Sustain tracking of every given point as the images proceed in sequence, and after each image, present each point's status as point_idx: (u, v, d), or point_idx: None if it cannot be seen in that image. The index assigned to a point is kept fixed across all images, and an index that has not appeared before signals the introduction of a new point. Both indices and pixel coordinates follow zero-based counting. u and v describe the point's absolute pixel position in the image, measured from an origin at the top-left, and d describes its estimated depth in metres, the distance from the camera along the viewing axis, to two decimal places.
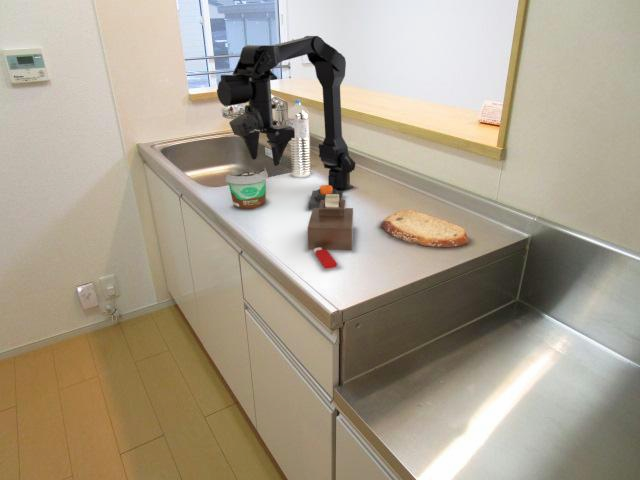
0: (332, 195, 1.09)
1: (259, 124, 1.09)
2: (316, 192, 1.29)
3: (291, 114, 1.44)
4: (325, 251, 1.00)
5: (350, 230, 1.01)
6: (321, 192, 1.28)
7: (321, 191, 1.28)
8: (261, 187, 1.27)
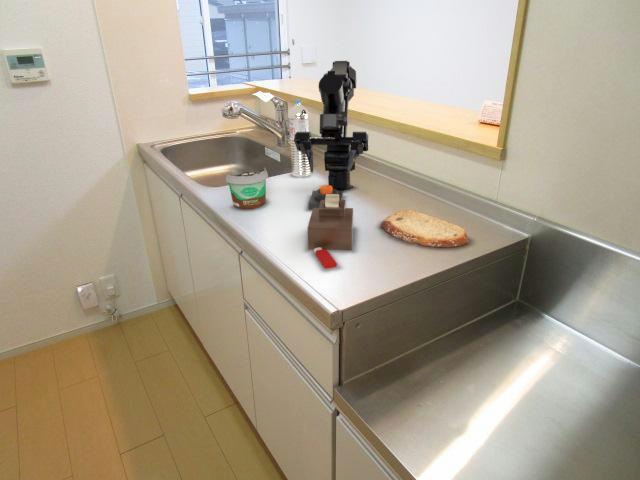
0: (332, 195, 1.09)
1: (342, 128, 1.13)
2: (316, 192, 1.29)
3: (291, 114, 1.44)
4: (325, 251, 1.00)
5: (350, 230, 1.01)
6: (321, 192, 1.28)
7: (321, 191, 1.28)
8: (261, 187, 1.27)
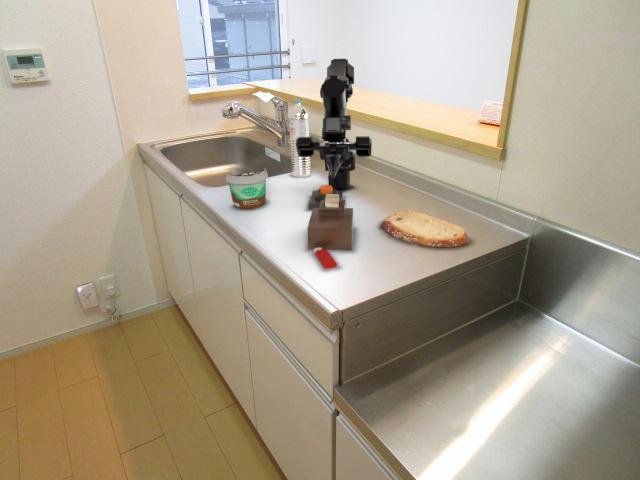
0: (332, 195, 1.09)
1: (345, 132, 1.11)
2: (316, 192, 1.29)
3: (291, 114, 1.44)
4: (325, 251, 1.00)
5: (350, 230, 1.01)
6: (321, 192, 1.28)
7: (321, 191, 1.28)
8: (261, 187, 1.27)
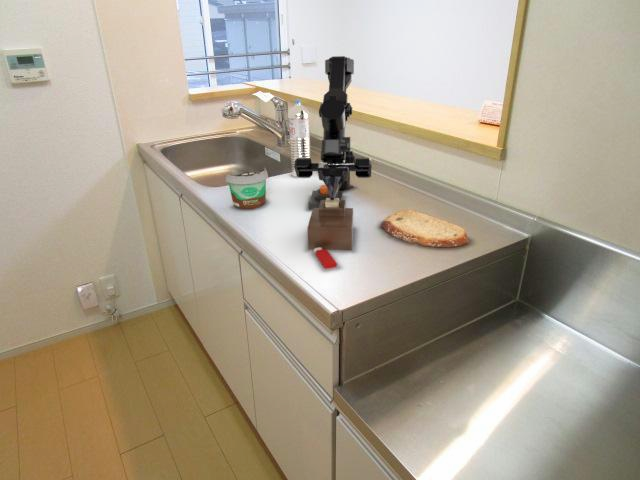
0: None
1: (344, 154, 1.09)
2: (316, 192, 1.29)
3: (291, 114, 1.44)
4: (325, 251, 1.00)
5: (350, 230, 1.01)
6: (321, 192, 1.28)
7: (321, 191, 1.28)
8: (261, 187, 1.27)
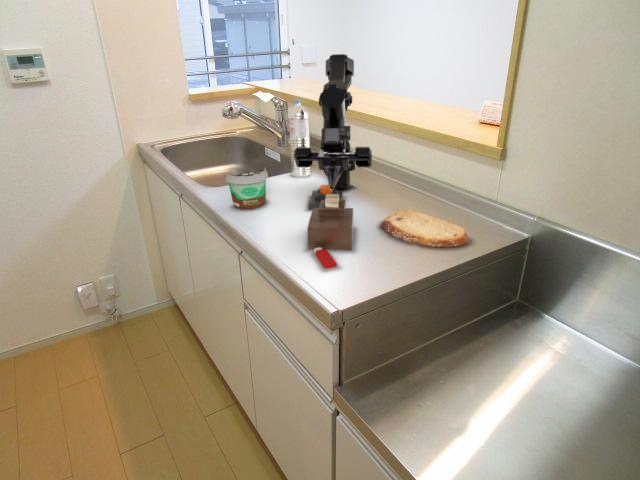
0: (332, 195, 1.09)
1: (344, 143, 1.08)
2: (316, 192, 1.29)
3: (291, 114, 1.44)
4: (325, 251, 1.00)
5: (350, 230, 1.01)
6: (321, 192, 1.28)
7: (321, 191, 1.28)
8: (261, 187, 1.27)
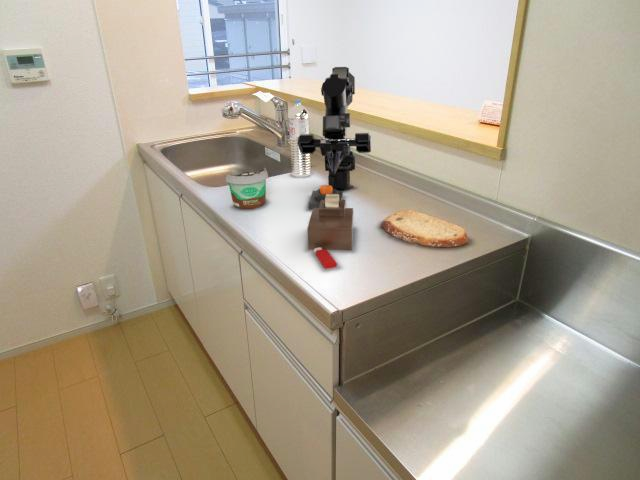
0: (332, 195, 1.09)
1: (345, 130, 1.15)
2: (316, 192, 1.29)
3: (291, 114, 1.44)
4: (325, 251, 1.00)
5: (350, 230, 1.01)
6: (321, 192, 1.28)
7: (321, 191, 1.28)
8: (261, 187, 1.27)
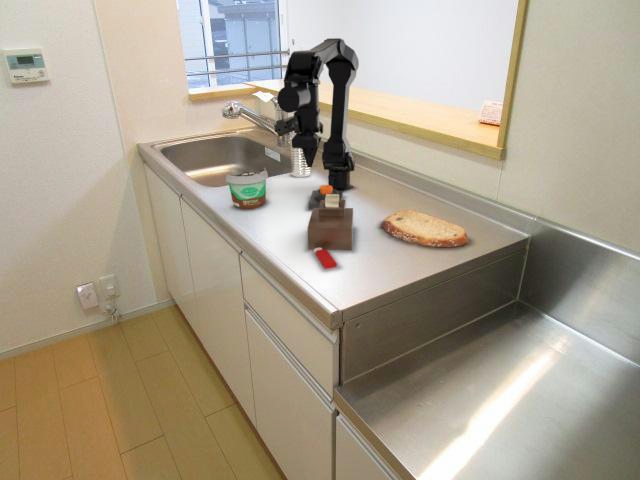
0: (332, 195, 1.09)
1: (295, 128, 1.12)
2: (316, 192, 1.29)
3: (291, 114, 1.44)
4: (325, 251, 1.00)
5: (350, 230, 1.01)
6: (321, 192, 1.28)
7: (321, 191, 1.28)
8: (261, 187, 1.27)
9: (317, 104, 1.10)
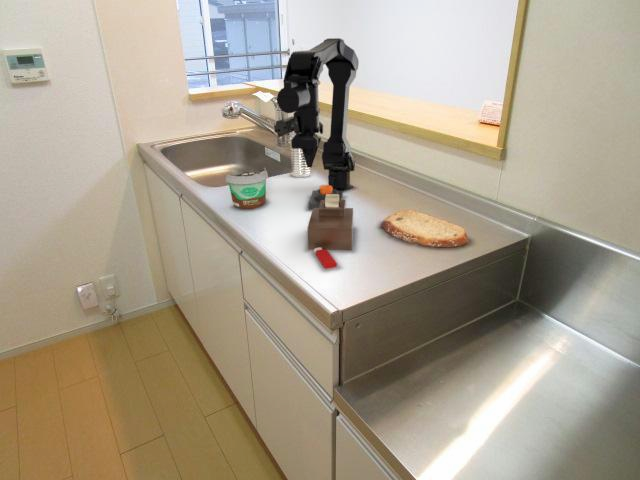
0: (332, 195, 1.09)
1: (294, 128, 1.12)
2: (316, 192, 1.29)
3: (291, 114, 1.44)
4: (325, 251, 1.00)
5: (350, 230, 1.01)
6: (321, 192, 1.28)
7: (321, 191, 1.28)
8: (261, 187, 1.27)
9: (317, 104, 1.10)
